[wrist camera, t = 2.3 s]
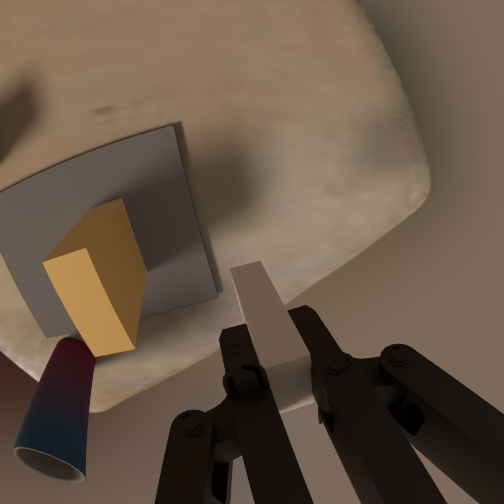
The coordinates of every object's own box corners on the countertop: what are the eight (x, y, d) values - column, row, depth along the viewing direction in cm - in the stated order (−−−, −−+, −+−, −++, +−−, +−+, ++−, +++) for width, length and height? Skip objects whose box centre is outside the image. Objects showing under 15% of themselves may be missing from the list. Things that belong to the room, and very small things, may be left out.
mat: (-15, 201, 19) (-18, 202, 19) (173, 125, 21) (173, 125, 21) (48, 334, 26) (47, 338, 26) (217, 294, 29) (218, 297, 28)
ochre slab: (89, 208, 22) (42, 262, 13) (121, 197, 22) (85, 247, 13) (117, 280, 25) (94, 357, 16) (147, 272, 25) (135, 349, 17)
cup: (110, 373, 30) (98, 486, 17) (63, 374, 29) (39, 477, 16) (90, 329, 27) (60, 453, 14) (40, 332, 26) (-2, 441, 13)
